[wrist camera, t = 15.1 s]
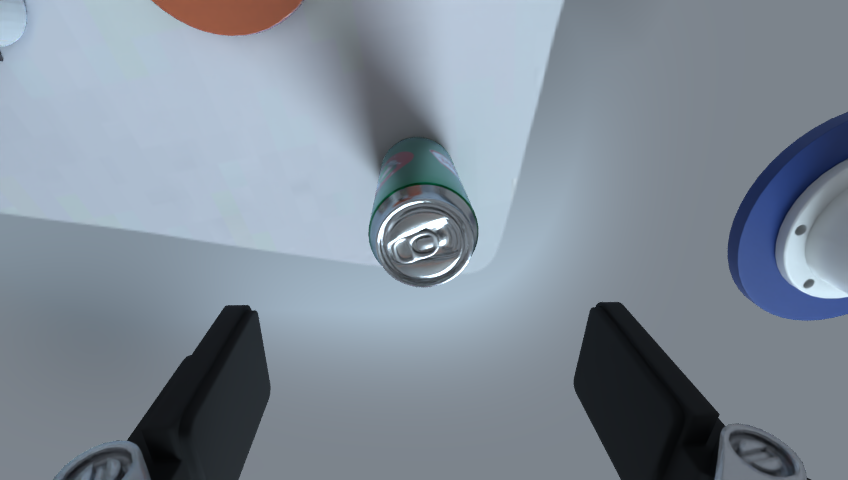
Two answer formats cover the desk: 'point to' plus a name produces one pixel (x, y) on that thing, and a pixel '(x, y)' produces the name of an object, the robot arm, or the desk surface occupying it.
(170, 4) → the lid
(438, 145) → the soda can
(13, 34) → the electronic device
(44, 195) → the desk surface
